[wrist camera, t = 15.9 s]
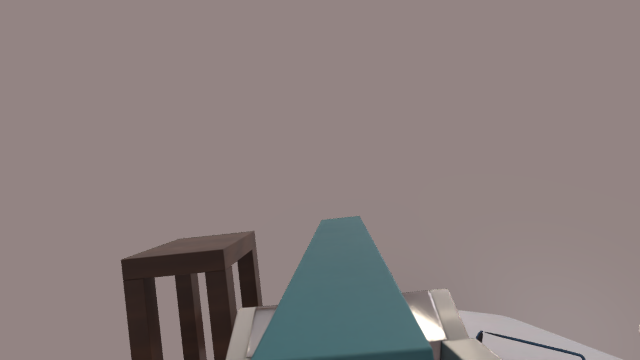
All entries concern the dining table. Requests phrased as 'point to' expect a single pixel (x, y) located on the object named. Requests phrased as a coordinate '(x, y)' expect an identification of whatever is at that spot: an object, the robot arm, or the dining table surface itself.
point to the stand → (190, 291)
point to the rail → (343, 304)
